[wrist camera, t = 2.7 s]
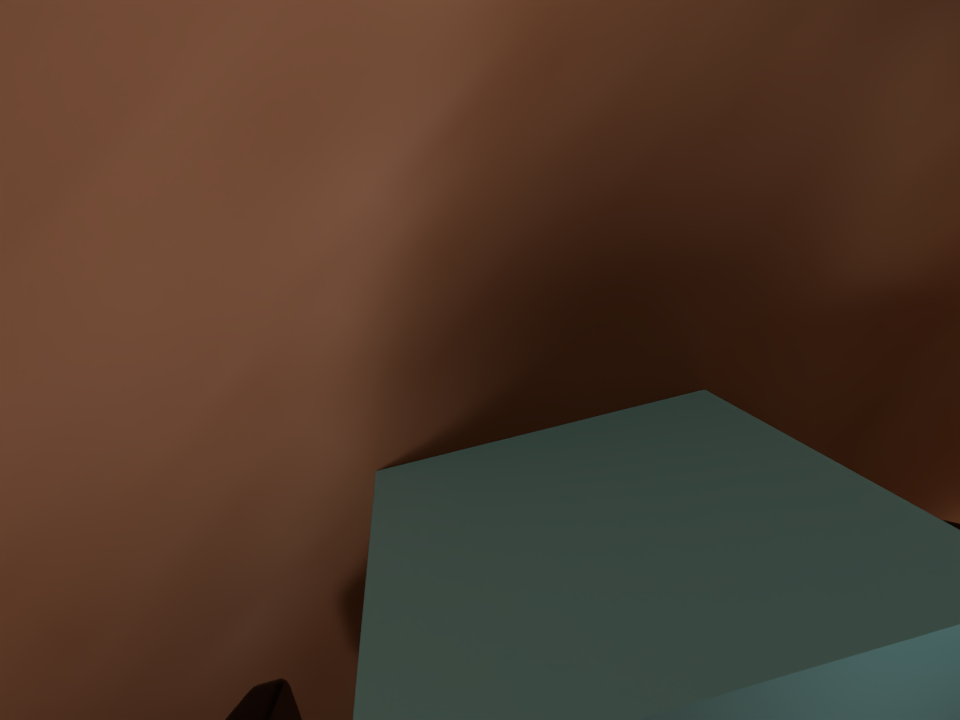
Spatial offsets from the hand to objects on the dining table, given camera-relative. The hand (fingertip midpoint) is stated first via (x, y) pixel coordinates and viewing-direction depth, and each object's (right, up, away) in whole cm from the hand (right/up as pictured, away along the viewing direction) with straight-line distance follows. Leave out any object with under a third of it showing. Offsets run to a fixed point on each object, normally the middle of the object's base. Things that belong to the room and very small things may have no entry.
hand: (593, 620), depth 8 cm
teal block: (0, 0, +1) cm, 1 cm away
